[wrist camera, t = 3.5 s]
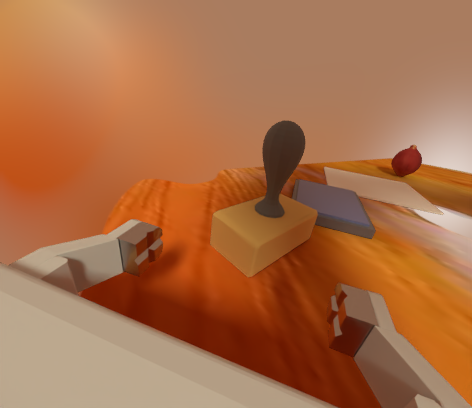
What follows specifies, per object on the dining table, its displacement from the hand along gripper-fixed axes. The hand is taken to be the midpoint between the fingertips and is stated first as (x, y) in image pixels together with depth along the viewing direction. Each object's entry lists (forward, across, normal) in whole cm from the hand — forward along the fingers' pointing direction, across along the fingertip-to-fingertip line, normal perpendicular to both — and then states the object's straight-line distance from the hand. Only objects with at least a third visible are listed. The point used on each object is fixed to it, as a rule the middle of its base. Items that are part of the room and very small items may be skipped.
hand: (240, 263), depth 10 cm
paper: (+40, -17, +6) cm, 44 cm away
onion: (+56, -27, +7) cm, 62 cm away
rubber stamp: (+12, 0, +7) cm, 13 cm away
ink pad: (+24, -7, +6) cm, 26 cm away
